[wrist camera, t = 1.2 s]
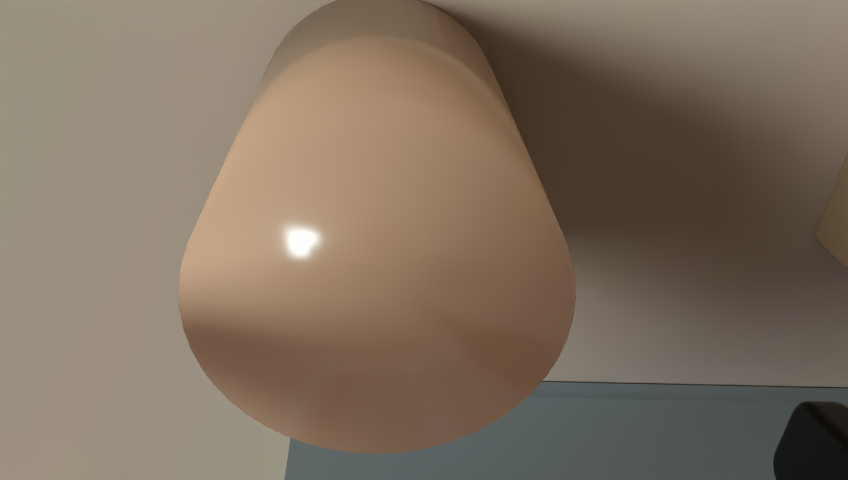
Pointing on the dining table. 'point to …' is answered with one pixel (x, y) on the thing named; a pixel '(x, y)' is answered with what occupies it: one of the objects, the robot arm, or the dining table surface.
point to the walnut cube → (836, 219)
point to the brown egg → (377, 241)
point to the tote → (596, 437)
